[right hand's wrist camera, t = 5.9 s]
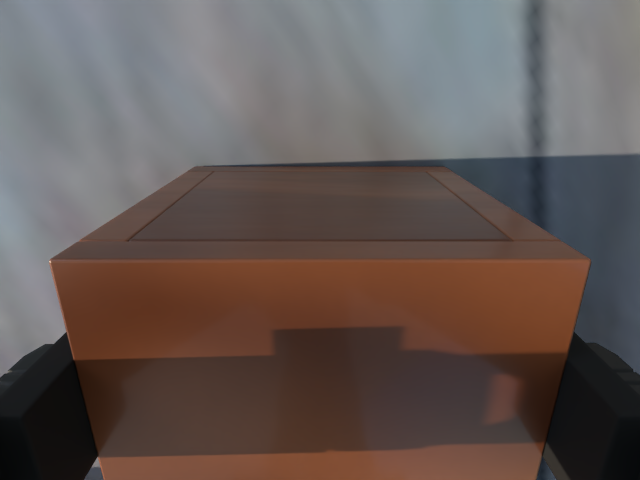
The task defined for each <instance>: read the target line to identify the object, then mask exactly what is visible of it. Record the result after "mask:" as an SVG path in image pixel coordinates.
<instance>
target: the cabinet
mask: <svg viewBox="0 0 640 480" xmlns="http://www.w3.org/2000/svg"><path fill="white" fill-rule="evenodd" d="M49 264H50V268H51V272H52V276H53V280H54V284H55V288H56V292H57V296H58V300H59V303H60V307H61V311H62V315H63V319H64V323H65V327H66V331H67V335H68V339H69V343H70V347H71V351H72V355H73V359H74V363H75V367H76V371H77V375H78V379H79V383H80V387H81V391H82V395H83V399H84V403H85V407H86V411H87V415H88V419H89V423H90V427H91V431H92V435H93V439H94V443H95V447H96V451H97V455H98V459H99V463H100V467H101V471H102V475H103V479H104V480H536V479H537V475H538V471H539V467H540V464H541V460H542V456H543V452H544V448H545V444H546V440H547V436H548V432H549V428H550V424H551V420H552V416H553V412H554V408H555V404H556V400H557V396H558V392H559V388H560V384H561V380H562V377H563V373H564V369H565V365H566V361H567V357H568V353H569V349H570V345H571V341H572V337H573V333H574V329H575V325H576V321H577V317H578V313H579V309H580V305H581V301H582V297H583V293H584V290H585V286H586V282H587V278H588V274H589V270H590V266H591V260H590V259H589V258H588V257H586V256H585V255H583V254H581V253H580V252H578V251H577V250H575V249H574V248H572V247H570V246H569V245H567V244H566V243H564V242H562V241H560V240H559V239H558V238H556V237H555V236H553V235H552V234H550V233H548V232H547V231H545V230H544V229H542V228H541V227H539V226H537V225H536V224H534V223H533V222H531V221H529V220H528V219H526V218H525V217H523V216H522V215H520V214H518V213H517V212H515V211H514V210H512V209H511V208H509V207H507V206H506V205H504V204H503V203H501V202H499V201H498V200H496V199H495V198H493V197H492V196H490V195H488V194H487V193H485V192H484V191H482V190H481V189H479V188H477V187H476V186H474V185H473V184H471V183H469V182H468V181H466V180H465V179H463V178H462V177H460V176H458V175H457V174H455V173H454V172H452V171H451V170H449V169H448V168H446V167H193V168H192V169H190V170H189V171H187V172H186V173H184V174H183V175H181V176H179V177H178V178H176V179H175V180H173V181H172V182H170V183H168V184H167V185H165V186H164V187H162V188H161V189H159V190H157V191H156V192H154V193H153V194H151V195H150V196H148V197H147V198H145V199H143V200H142V201H140V202H139V203H137V204H136V205H134V206H132V207H131V208H129V209H128V210H126V211H125V212H123V213H121V214H120V215H118V216H117V217H115V218H114V219H112V220H110V221H109V222H107V223H106V224H104V225H103V226H101V227H99V228H98V229H96V230H95V231H93V232H92V233H90V234H88V235H87V236H85V237H84V238H82V239H81V240H80V241H79V242H76V243H75V244H73V245H72V246H70V247H69V248H67V249H65V250H64V251H62V252H61V253H59V254H58V255H56V256H55V257H53V258H51V259H50V261H49Z"/></svg>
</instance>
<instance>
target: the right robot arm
mask: <svg viewBox="0 0 640 480" xmlns="http://www.w3.org/2000/svg"><path fill="white" fill-rule="evenodd" d="M97 457H98V455H97V451H96V447H95V443H94V439H93V435H92V431H91V427H90V423H89V419H88V415H87V411H86V407H85V403H84V399H83V395H82V391H81V387H80V383H79V379H78V375H77V371H76V367H75V363H74V359H73V355H72V351H71V347H70V343H69V339H68V335H67V332H66V333H65V334H64V335H63V336H62V337H61V338H60V339H59V340H58V341H57V342H56V343H55V344H45V345H43V346H41V347H39V348H38V349H36V350H34V351H32V352H31V353H29V354H27V355H25V356H24V357H23V358H22V359H20V360H19V361H18V362H17V363H16V364H15V365H14V366H13V367H12V368H11V369H9V370H8V373H7V374H4V375H3V376H2V377H1V378H0V480H84V478H85V477H86V475H87V473H88V472H89V470H90V468H91V467H92V465H93V463H94V462H95V460H96V458H97ZM543 458H544V459H545V461H546V463H547V464H548V466H549V468H550V469H551V471H552V473H553V474H554V476H555V478H556V479H557V480H640V375H639V374H638V373H636V372H633V369H632V368H631V367H630V366H629V365H628V364H626V363H625V362H624V361H623V360H622V359H621V358H620V357H619V356H618V355H616V354H614V353H613V352H611V351H609V350H607V349H605V348H604V347H602V346H600V345H598V344H597V343H585V342H584V341H583V340H582V339H581V338H580V337H579V336H578V335H577V334H576V333H573V337H572V341H571V345H570V349H569V353H568V357H567V361H566V365H565V369H564V373H563V377H562V380H561V384H560V388H559V392H558V396H557V400H556V404H555V408H554V412H553V416H552V420H551V424H550V428H549V432H548V436H547V440H546V444H545V448H544V452H543Z"/></svg>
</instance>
